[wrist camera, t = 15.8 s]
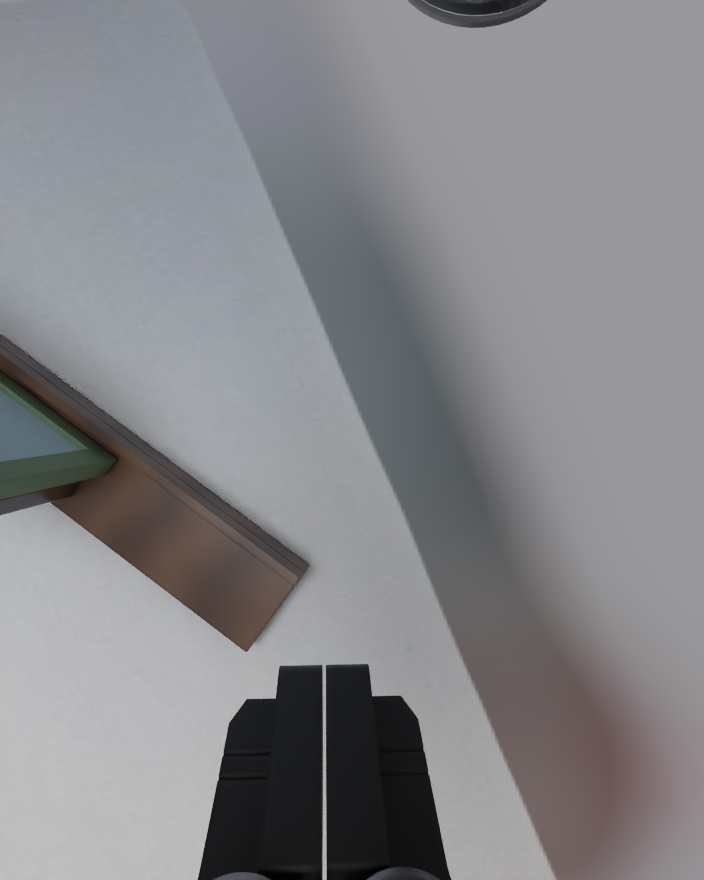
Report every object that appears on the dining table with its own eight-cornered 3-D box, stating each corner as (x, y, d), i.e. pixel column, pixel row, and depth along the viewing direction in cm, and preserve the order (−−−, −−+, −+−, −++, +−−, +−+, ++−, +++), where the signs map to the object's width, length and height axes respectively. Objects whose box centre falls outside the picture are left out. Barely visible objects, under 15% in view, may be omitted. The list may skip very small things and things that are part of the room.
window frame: (309, 564, 36) (205, 703, 20) (253, 642, 37) (108, 838, 21) (-40, 304, 38) (-402, 232, 22) (-86, 383, 39) (-469, 372, 22)
